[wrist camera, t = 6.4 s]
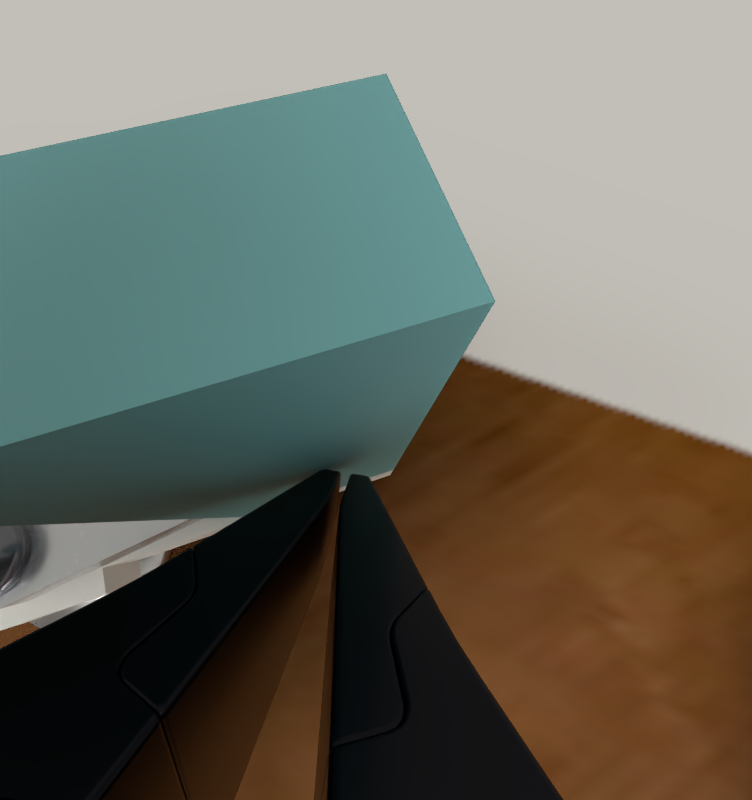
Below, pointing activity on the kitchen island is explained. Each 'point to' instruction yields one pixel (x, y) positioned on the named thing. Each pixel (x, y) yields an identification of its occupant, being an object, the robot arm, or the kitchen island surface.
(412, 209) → the link
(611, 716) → the kitchen island surface
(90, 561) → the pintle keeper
